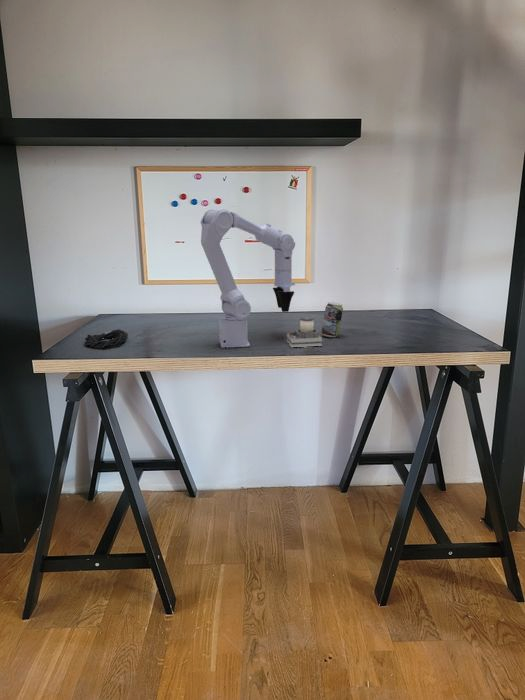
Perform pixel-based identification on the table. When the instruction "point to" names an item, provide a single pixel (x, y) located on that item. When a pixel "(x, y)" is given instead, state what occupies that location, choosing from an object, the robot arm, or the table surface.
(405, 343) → the table surface
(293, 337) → the square housing with collar
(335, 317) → the beverage can
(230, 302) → the robot arm
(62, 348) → the table surface
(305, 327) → the lens
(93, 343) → the cable
